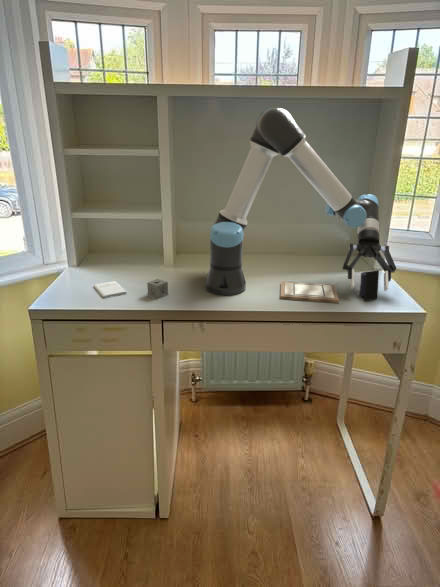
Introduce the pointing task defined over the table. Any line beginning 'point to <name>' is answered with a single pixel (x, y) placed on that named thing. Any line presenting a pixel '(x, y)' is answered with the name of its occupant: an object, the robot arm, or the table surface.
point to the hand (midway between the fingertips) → (369, 288)
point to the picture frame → (309, 292)
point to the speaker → (369, 285)
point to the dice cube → (157, 288)
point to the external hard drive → (110, 289)
